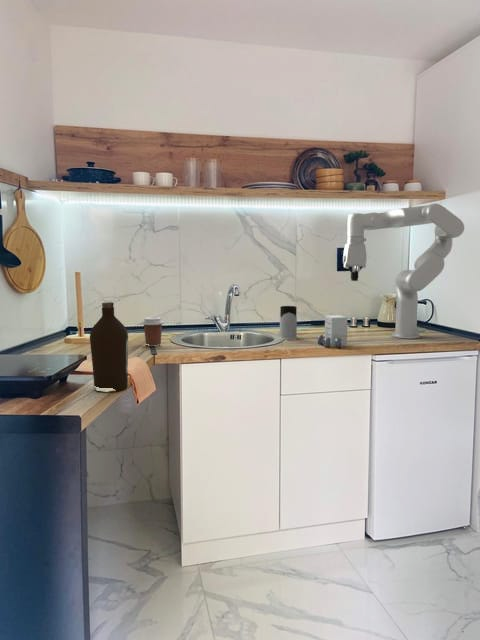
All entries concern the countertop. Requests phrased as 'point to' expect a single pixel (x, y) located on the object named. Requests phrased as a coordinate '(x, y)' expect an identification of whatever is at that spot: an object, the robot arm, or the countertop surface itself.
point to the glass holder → (288, 322)
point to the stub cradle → (328, 342)
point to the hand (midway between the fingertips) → (354, 280)
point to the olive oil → (109, 351)
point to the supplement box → (336, 329)
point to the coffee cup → (153, 330)
